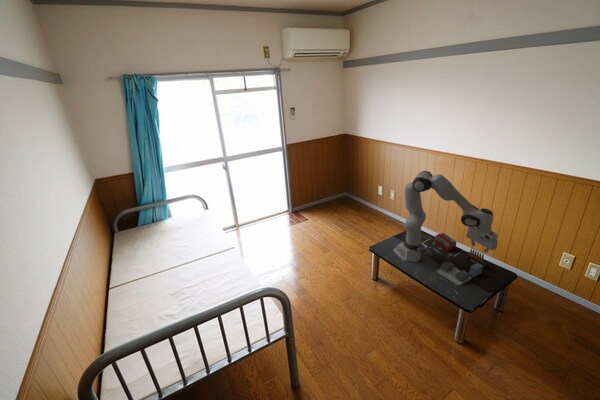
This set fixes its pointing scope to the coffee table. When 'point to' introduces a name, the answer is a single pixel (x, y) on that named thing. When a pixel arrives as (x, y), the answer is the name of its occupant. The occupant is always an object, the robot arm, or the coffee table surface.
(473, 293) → the coffee table surface
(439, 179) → the robot arm
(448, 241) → the medicine box
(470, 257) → the ammunition clip
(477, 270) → the block
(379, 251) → the coffee table surface
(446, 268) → the board
